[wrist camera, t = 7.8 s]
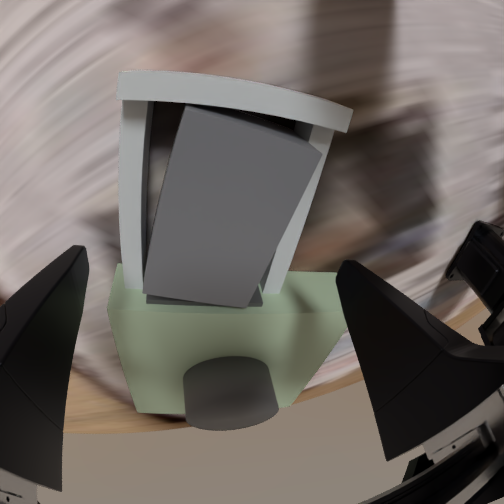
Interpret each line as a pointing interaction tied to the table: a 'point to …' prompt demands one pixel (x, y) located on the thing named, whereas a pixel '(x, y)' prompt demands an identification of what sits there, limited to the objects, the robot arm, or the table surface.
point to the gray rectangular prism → (224, 204)
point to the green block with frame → (212, 315)
